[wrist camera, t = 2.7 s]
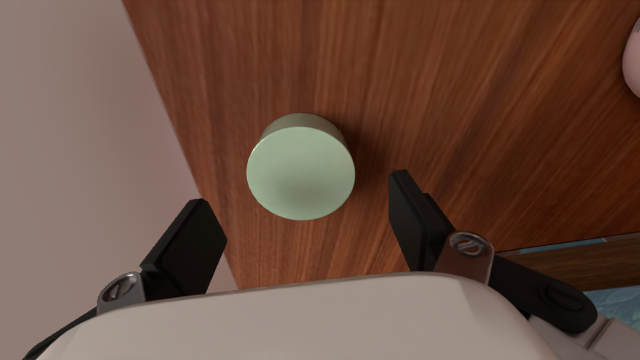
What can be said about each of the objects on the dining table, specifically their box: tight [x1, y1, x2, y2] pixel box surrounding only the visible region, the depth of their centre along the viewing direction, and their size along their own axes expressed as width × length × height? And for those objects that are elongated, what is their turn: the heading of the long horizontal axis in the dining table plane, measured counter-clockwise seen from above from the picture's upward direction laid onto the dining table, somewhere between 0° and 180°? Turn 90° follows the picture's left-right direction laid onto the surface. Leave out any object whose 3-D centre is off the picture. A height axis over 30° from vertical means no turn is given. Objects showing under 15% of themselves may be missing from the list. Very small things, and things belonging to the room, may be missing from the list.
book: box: [495, 232, 640, 360], centre depth 27 cm, size 23×18×5 cm
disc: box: [247, 113, 355, 220], centre depth 16 cm, size 7×7×3 cm
